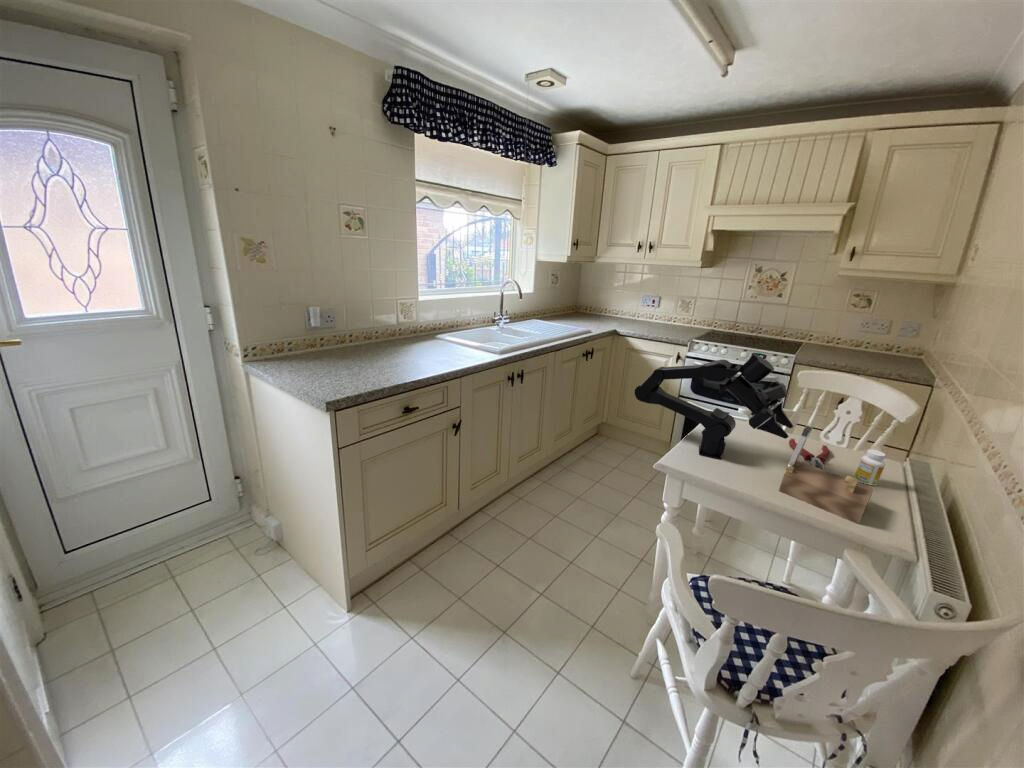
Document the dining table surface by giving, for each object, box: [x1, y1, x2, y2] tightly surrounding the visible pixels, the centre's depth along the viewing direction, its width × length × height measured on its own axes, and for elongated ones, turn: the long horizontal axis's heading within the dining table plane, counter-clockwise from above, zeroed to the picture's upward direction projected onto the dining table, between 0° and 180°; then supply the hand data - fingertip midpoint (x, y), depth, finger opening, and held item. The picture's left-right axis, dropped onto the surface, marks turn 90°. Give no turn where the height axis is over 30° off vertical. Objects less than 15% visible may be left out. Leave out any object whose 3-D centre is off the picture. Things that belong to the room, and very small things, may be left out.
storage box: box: [778, 459, 875, 525], centre depth 113 cm, size 18×12×8 cm, turn 43°
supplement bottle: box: [854, 448, 886, 486], centre depth 123 cm, size 5×5×10 cm
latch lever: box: [786, 425, 813, 467], centre depth 116 cm, size 13×4×1 cm
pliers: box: [788, 438, 831, 471], centre depth 136 cm, size 12×20×3 cm, turn 155°
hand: (789, 432), depth 120 cm, fingers open, 9 cm apart
